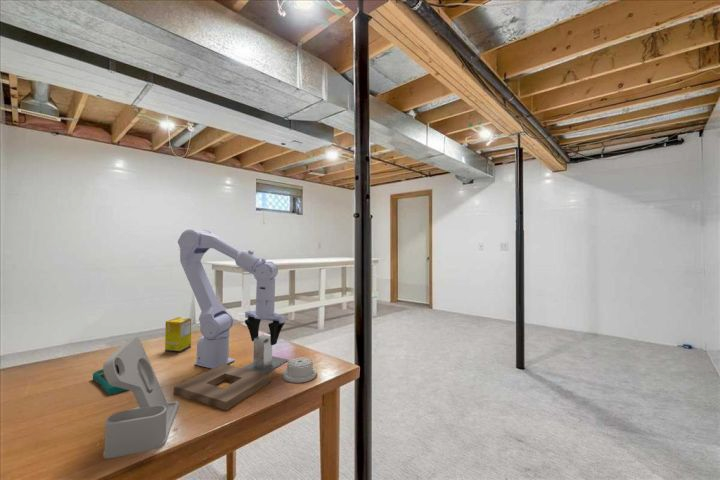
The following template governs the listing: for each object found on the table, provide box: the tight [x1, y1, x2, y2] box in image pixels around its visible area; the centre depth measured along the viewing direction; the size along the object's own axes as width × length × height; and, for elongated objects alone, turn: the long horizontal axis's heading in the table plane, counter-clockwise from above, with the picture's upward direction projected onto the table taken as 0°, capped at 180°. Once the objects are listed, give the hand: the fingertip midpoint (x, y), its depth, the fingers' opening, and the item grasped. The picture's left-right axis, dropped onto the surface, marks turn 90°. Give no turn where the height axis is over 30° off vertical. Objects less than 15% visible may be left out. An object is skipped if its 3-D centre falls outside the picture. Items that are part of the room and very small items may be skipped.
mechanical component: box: [282, 356, 318, 384], centre depth 92 cm, size 10×4×10 cm
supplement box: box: [164, 316, 192, 354], centre depth 110 cm, size 6×6×11 cm
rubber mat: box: [242, 355, 289, 374], centre depth 98 cm, size 9×14×1 cm, turn 157°
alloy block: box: [252, 334, 273, 369], centre depth 97 cm, size 4×4×9 cm
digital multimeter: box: [92, 369, 128, 396], centre depth 85 cm, size 7×15×3 cm, turn 54°
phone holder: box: [102, 336, 180, 459], centre depth 65 cm, size 17×10×18 cm, turn 22°
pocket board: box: [173, 364, 271, 411], centre depth 83 cm, size 18×16×2 cm
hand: (264, 342), depth 98 cm, fingers open, 7 cm apart
